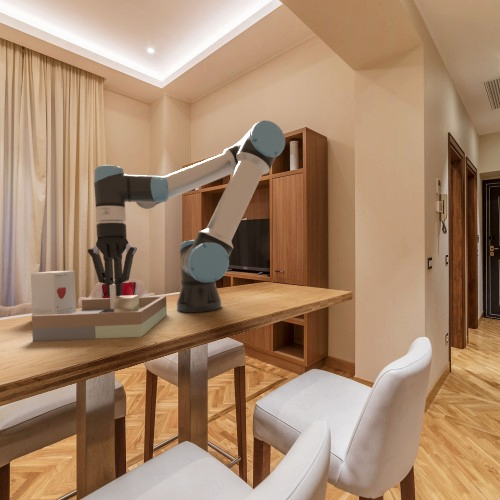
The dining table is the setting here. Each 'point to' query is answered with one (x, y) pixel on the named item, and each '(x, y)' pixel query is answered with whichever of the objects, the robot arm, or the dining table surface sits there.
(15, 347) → the dining table surface
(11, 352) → the dining table surface
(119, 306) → the cream block
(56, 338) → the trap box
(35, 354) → the dining table surface
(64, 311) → the supplement box
